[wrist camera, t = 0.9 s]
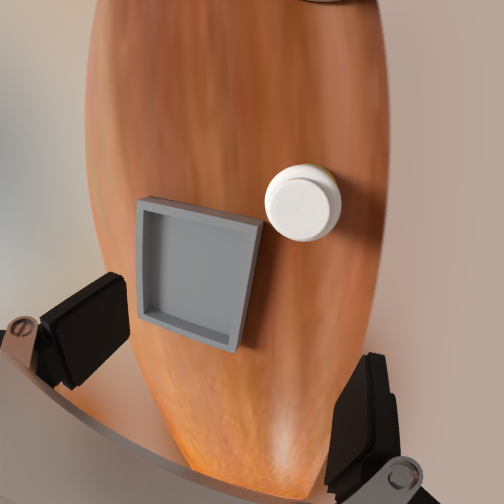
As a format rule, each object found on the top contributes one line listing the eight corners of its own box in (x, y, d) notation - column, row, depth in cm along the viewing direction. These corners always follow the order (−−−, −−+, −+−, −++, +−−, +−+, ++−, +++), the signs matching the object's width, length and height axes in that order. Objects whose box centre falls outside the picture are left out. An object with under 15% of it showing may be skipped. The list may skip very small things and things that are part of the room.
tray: (149, 196, 32) (137, 199, 29) (263, 220, 29) (257, 226, 27) (147, 308, 38) (138, 317, 35) (241, 342, 35) (235, 353, 33)
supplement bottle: (329, 226, 27) (328, 263, 18) (276, 210, 28) (247, 239, 19) (345, 172, 25) (353, 181, 16) (289, 156, 26) (266, 156, 17)
